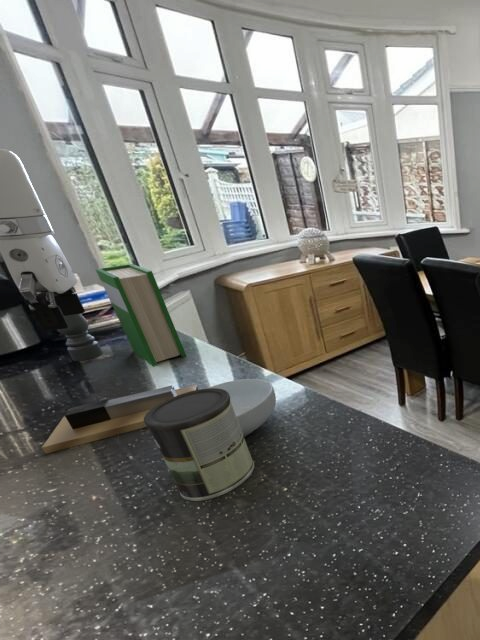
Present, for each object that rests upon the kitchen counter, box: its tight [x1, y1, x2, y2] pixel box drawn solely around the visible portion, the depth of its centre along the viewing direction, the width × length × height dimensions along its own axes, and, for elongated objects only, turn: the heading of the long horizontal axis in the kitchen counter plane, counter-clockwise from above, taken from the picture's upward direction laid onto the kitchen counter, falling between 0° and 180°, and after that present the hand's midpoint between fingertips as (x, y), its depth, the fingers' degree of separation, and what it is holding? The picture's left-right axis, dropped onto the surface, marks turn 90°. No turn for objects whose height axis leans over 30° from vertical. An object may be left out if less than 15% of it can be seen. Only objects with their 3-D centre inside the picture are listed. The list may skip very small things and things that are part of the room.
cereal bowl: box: [205, 378, 277, 438], centre depth 75 cm, size 17×17×7 cm
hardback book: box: [95, 263, 187, 367], centre depth 106 cm, size 18×7×24 cm, turn 54°
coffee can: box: [144, 387, 255, 502], centre depth 62 cm, size 10×10×14 cm
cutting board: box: [41, 384, 199, 455], centre depth 81 cm, size 22×12×2 cm, turn 123°
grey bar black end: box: [64, 384, 177, 429], centre depth 80 cm, size 16×3×3 cm, turn 123°
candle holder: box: [44, 294, 104, 362], centre depth 106 cm, size 6×6×25 cm
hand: (65, 321), depth 74 cm, fingers open, 9 cm apart
